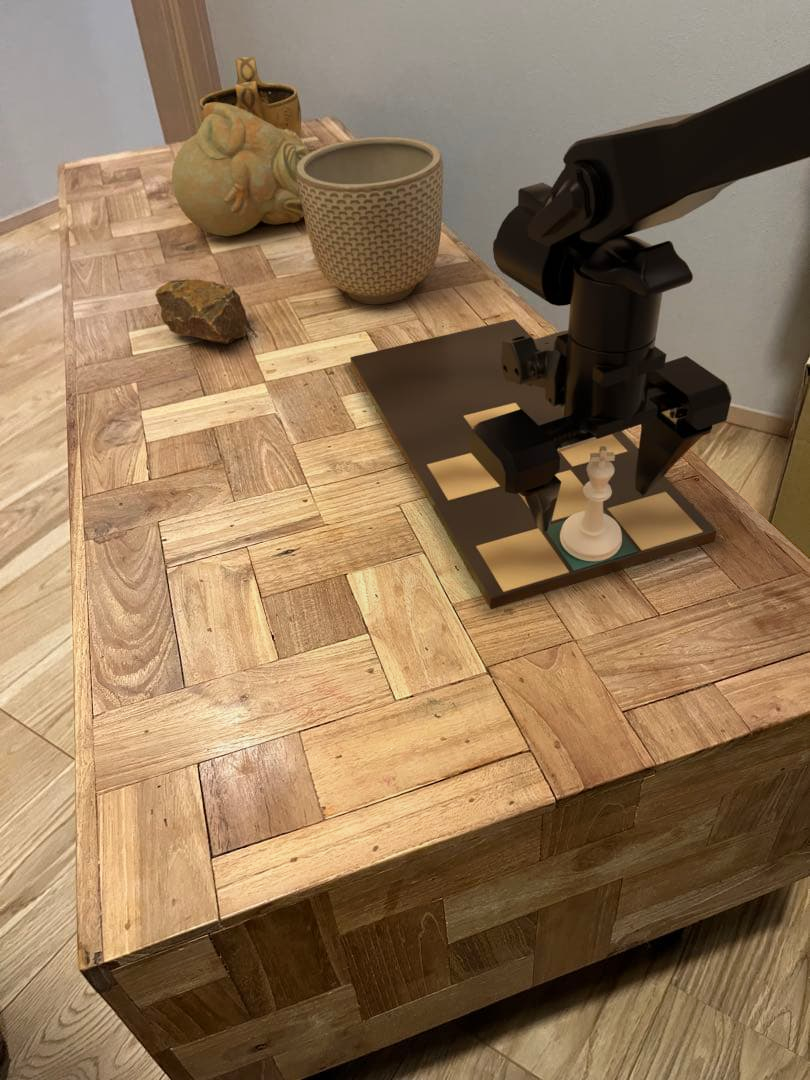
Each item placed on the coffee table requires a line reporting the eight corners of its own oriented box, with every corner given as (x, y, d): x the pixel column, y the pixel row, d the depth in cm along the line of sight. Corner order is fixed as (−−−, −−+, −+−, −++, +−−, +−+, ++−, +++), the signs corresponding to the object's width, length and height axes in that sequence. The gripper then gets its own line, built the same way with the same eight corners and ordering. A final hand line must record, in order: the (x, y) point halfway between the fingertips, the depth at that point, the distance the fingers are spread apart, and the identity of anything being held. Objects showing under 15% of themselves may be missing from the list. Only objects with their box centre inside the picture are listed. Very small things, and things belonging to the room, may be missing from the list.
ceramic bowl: (311, 177, 139) (297, 78, 129) (211, 190, 138) (188, 91, 128) (304, 138, 156) (290, 47, 146) (214, 149, 155) (194, 58, 145)
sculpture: (244, 274, 115) (351, 184, 117) (142, 146, 107) (258, 51, 109) (227, 278, 131) (321, 199, 133) (137, 167, 123) (239, 84, 125)
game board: (714, 541, 68) (717, 529, 67) (490, 609, 64) (490, 597, 63) (514, 328, 96) (514, 317, 96) (351, 366, 93) (349, 356, 92)
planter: (400, 333, 97) (388, 196, 87) (287, 304, 105) (263, 175, 94) (472, 274, 108) (470, 145, 97) (364, 252, 115) (351, 129, 104)
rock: (175, 372, 94) (260, 353, 96) (160, 322, 90) (250, 303, 92) (163, 322, 104) (241, 306, 106) (150, 275, 100) (231, 259, 102)
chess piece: (626, 560, 65) (644, 471, 58) (563, 562, 65) (572, 474, 58) (616, 514, 68) (632, 423, 61) (556, 516, 69) (565, 427, 61)
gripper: (654, 255, 63) (630, 425, 73) (432, 317, 58) (441, 489, 68) (757, 315, 55) (714, 495, 65) (511, 392, 50) (507, 573, 61)
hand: (592, 510), depth 65 cm, fingers open, 9 cm apart
